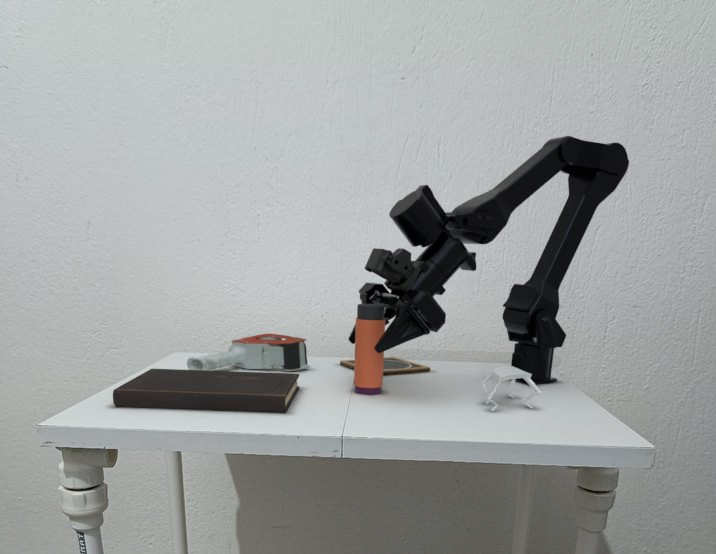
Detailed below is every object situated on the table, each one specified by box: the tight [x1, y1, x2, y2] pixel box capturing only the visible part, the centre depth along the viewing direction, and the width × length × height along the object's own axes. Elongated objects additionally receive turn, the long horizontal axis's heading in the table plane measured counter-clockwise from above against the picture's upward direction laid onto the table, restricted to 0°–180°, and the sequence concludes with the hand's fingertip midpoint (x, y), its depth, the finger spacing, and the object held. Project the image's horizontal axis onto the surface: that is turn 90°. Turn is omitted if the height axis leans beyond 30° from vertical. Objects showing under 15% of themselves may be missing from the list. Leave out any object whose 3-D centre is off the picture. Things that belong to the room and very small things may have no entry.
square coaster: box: [339, 356, 431, 377], centre depth 121 cm, size 12×12×1 cm
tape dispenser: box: [186, 333, 310, 373], centre depth 117 cm, size 18×5×20 cm
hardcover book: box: [112, 368, 300, 413], centre depth 95 cm, size 16×23×2 cm
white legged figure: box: [481, 365, 543, 412], centre depth 96 cm, size 12×8×5 cm
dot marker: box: [353, 303, 386, 395], centre depth 100 cm, size 4×4×13 cm
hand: (362, 346), depth 99 cm, fingers open, 9 cm apart
